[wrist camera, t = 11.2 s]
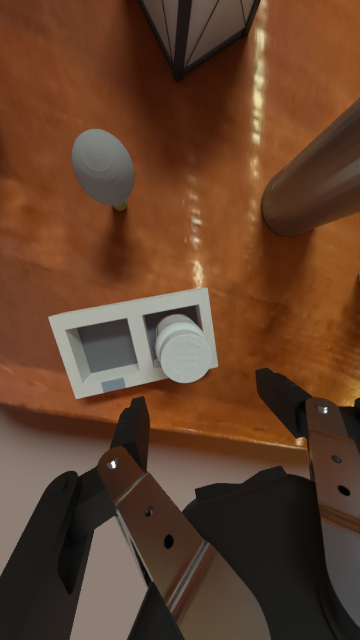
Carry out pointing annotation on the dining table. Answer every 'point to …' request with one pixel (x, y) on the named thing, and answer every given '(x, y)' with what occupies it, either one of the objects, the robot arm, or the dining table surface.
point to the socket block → (123, 340)
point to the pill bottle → (182, 348)
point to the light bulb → (103, 168)
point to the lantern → (197, 28)
